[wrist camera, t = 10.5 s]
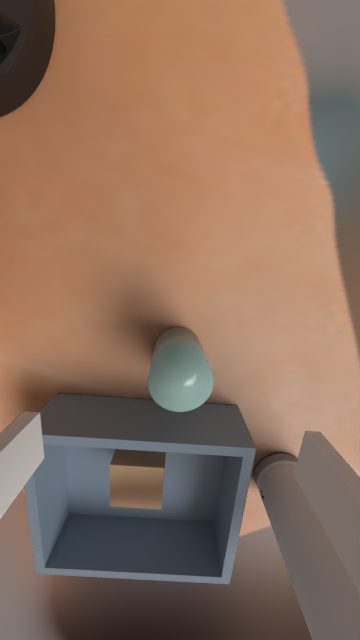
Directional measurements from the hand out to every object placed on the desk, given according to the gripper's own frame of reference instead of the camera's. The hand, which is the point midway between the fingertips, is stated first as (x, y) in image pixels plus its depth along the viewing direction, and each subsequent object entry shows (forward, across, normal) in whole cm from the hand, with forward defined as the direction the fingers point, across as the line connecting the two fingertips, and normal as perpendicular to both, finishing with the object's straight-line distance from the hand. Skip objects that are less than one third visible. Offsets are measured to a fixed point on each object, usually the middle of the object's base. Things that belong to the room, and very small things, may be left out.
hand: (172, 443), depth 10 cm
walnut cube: (+11, -3, -12) cm, 17 cm away
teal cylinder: (+12, 0, 0) cm, 12 cm away
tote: (+12, -3, -15) cm, 20 cm away
